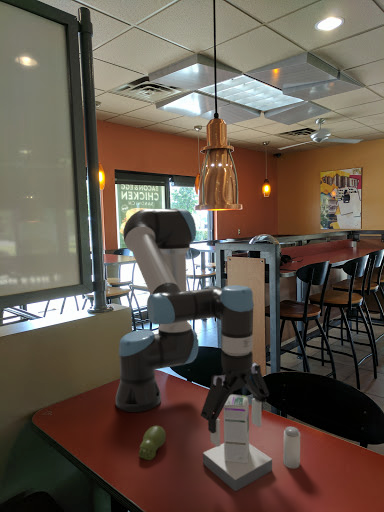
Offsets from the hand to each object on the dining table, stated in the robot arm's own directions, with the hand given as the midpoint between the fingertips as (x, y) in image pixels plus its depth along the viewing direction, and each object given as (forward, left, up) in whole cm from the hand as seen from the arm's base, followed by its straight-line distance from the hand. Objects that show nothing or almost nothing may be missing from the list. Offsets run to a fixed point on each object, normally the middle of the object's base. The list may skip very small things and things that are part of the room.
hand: (236, 433), depth 93 cm
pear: (-18, -14, -9) cm, 25 cm away
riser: (0, 0, -9) cm, 9 cm away
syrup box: (0, 0, -6) cm, 6 cm away
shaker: (+7, +12, -9) cm, 16 cm away
